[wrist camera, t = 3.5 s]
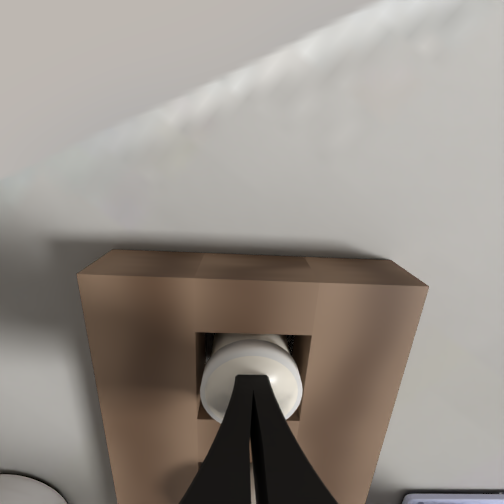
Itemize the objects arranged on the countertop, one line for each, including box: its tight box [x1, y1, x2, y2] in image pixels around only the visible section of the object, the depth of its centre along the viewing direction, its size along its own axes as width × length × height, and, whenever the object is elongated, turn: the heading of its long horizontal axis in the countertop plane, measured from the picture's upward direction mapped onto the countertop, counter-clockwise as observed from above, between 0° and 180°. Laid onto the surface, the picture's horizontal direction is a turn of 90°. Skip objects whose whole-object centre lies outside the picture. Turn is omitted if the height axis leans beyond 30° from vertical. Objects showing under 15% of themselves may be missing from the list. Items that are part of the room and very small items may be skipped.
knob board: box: [77, 249, 429, 504], centre depth 16 cm, size 14×26×3 cm, turn 177°
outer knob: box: [200, 333, 303, 423], centre depth 13 cm, size 4×4×3 cm
